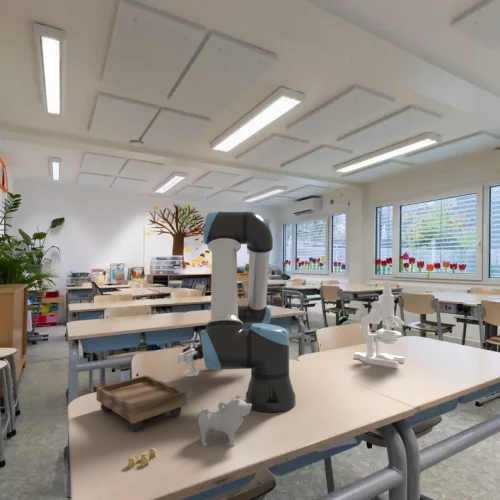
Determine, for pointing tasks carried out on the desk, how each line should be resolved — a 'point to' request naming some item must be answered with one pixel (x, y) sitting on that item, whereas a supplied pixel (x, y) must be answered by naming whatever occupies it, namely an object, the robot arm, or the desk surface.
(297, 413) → the desk surface
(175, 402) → the caster cart
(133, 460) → the dice set
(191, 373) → the chess piece
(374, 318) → the microscope
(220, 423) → the white dog statue
